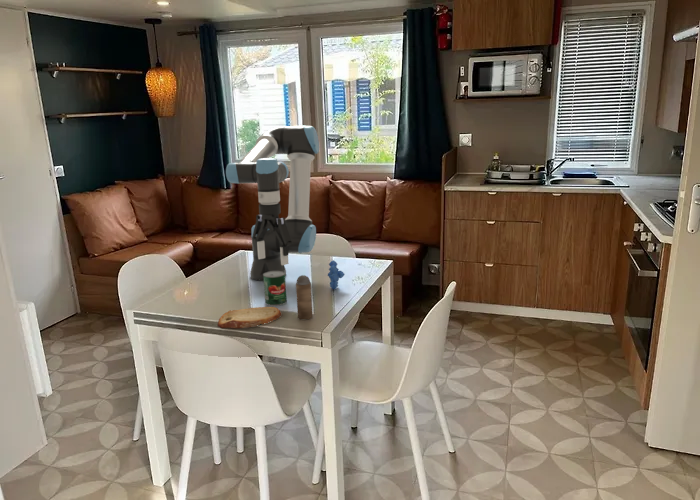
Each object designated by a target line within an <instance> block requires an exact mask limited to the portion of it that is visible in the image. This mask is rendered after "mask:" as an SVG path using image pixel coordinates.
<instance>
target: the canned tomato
mask: <svg viewBox="0 0 700 500" xmlns="http://www.w3.org/2000/svg"><path fill="white" fill-rule="evenodd" d="M263 276H264V281H263V286H264V290H263V291H264V299H265V305H267V306H269V307H277V306H282V305H285V304H287V301H288V300H287V287H286V285H287V284H286V283H287V282H286V276H285V272H283V271H269V272H266V273H264V274H263Z"/></svg>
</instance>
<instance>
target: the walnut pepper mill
mask: <svg viewBox="0 0 700 500" xmlns="http://www.w3.org/2000/svg"><path fill="white" fill-rule="evenodd" d="M295 291H296V292H295V293H296V306H297V307H296V308H297V319H298V318H299V320H301V319H307V320H310V318H311V319H313V317H314V316H313V298H312V297H313V296H312V282H311V279H310V278H309V277H308V276H307V275H305V274H302V275H299V276H298V277H297V279H296V282H295Z"/></svg>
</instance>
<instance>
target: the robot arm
mask: <svg viewBox="0 0 700 500" xmlns="http://www.w3.org/2000/svg"><path fill="white" fill-rule="evenodd" d="M319 153H320V141H319V135H318V132H317V130H316V128H315V127H314V126H312V125H293V126H292V125H291V126H290V125H289V126H287V125H286V126H283V125H282V126H280V125H279V126H275V127H273V128H270V129H269V130H267V131H266V132H264V133H262V134H261V135H259V137H257V139H256V140H255V144H254V146H253V147H252V148H250V150H249V151H247V153H246V154H245V155H244V156H243V157H242V158H241V159H240V161H238V162H229V163H228V164H226V168H225V177H226V179H227V181H228V183H231V184H237V185H238V184H257V194H258V195H257V196H258V199H257V200H258V203H259V204H258V213H259V214H256V217H255V224H254V225H252V227H251V229H250V230H251V236H250V237H251V246H252V257H253V259H252V264H251V269H250V271H249V274H250V278H251V279H252V280H254V281H259V282H262V281H263V282H264V276H263V274H264V273H266V272H269V271H283V272H285V277H286V276H287V270H286V267H285V265H289V263H290V262H289V253H291V254H293V253H294V254H295V253H296V254H303V253H304V254H305V253H306V254H307V253H310V252H312V250H313V249H314V246H315V243H316V238H317V227H316V225H314V224H313V220H312V219H311V218H310V196H311V194H310V192H311V171H312V170H311V168H312V167H311V166H312V164H311V163H312V162H313V160H315V158H316V157H315V155H317V154H319ZM276 155H286V157H287V158H288V160H289V161H290V164H289V165H290V166H289V167H290V169H289V167H288V165H287V164H286V163H284V162H283V161H279V160H278V159H277V158H273V157H274V156H276ZM288 177H289V189H288V190H289V193H288V214H287V217H281V218H280V217H279V215H280V214H281V213H282V211H281V210H282V209H281V203H280V201H281V195H280V183H283V182H284V181H285V180H286V179H288Z"/></svg>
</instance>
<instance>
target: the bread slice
mask: <svg viewBox="0 0 700 500" xmlns="http://www.w3.org/2000/svg"><path fill="white" fill-rule="evenodd" d="M280 316H281V317H282V312H281V310H280V309H279V308H278V307H277V306H263V307H262V306H258V307H250V308H241V309H232V310H228V311H227V312H225V313H224V314H222V315H221V316H220V317H219V319H218V322H217V327H218V328H221V329H232V330H233V329H235V330H237V329H245V328H246V329H248V328H254V327H258V326H257V325H259V326H261V325H260V324H262V325H265V324H264V323H267V324H269V323H268V322H270V321H272V322H274V321H273V320H275V321H276V319H277V318H278V319H280V318H281V317H280ZM279 317H280V318H279ZM278 319H277V320H278ZM270 323H271V322H270Z"/></svg>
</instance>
